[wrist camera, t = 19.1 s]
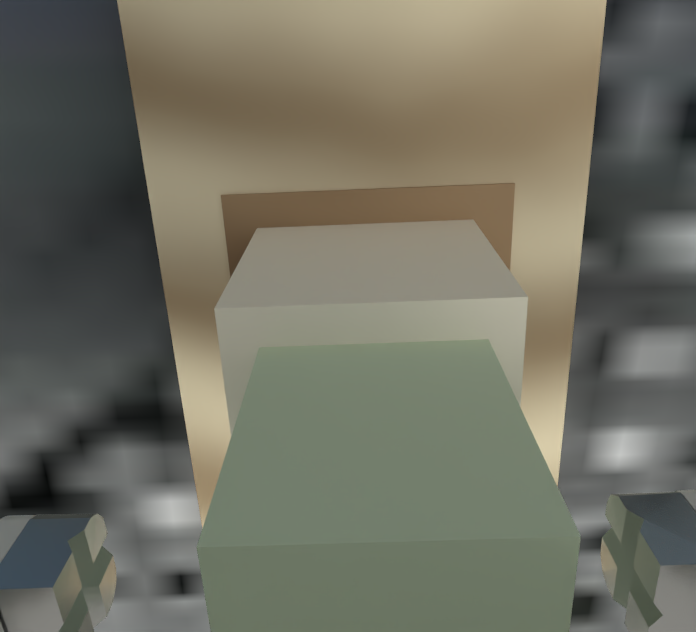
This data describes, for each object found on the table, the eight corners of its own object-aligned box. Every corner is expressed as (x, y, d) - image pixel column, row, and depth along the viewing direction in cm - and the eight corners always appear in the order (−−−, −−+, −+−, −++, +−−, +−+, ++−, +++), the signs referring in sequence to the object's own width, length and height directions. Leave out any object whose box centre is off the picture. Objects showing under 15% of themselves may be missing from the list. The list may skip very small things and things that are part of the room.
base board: (124, -45, 16) (107, -52, 15) (596, -68, 16) (615, -78, 15) (218, 561, 24) (211, 587, 23) (539, 551, 24) (549, 578, 23)
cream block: (257, 227, 18) (214, 308, 12) (473, 219, 18) (527, 297, 12) (275, 414, 20) (246, 552, 15) (467, 407, 20) (510, 544, 15)
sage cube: (259, 347, 13) (197, 547, 8) (488, 339, 13) (580, 535, 7) (278, 529, 14) (237, 791, 9) (480, 523, 14) (550, 784, 9)
